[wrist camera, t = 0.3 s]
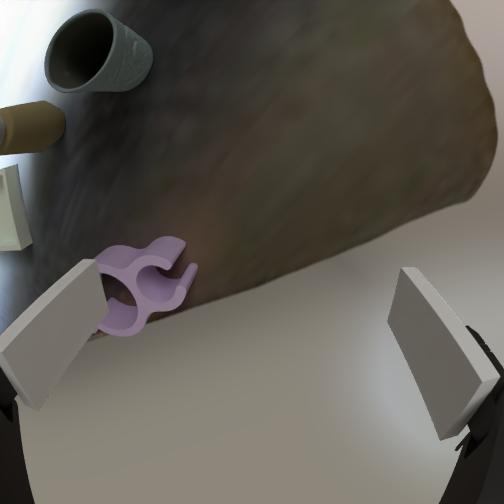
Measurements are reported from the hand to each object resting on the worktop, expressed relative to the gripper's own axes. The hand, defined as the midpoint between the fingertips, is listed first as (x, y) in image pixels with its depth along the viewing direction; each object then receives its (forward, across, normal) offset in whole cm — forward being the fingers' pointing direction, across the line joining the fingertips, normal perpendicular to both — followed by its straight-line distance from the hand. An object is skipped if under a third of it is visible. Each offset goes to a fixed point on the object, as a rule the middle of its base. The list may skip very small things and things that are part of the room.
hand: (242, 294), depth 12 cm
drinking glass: (+28, -19, +18) cm, 38 cm away
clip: (+28, -19, -15) cm, 37 cm away
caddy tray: (+28, -50, -2) cm, 57 cm away
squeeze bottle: (+28, -33, +11) cm, 44 cm away
